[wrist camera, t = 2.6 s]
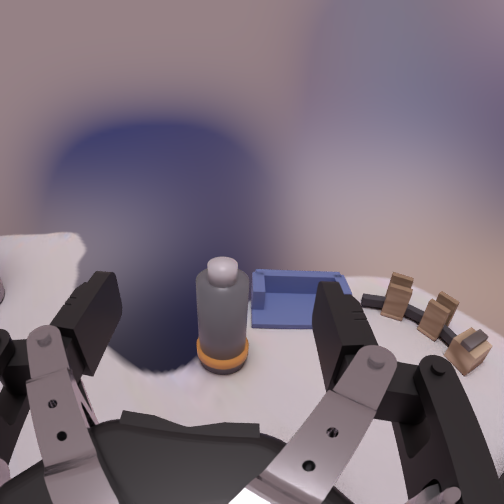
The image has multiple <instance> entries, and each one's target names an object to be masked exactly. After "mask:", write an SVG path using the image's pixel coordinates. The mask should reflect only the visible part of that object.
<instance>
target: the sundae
mask: <svg viewBox="0 0 504 504" xmlns="http://www.w3.org/2000/svg"><path fill="white" fill-rule="evenodd" d="M499 481H500V485H501V488H502V492H503V495H504V473H503V474H502V475H501V477H500V479H499Z"/></svg>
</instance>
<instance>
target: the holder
mask: <svg viewBox="0 0 504 504" xmlns="http://www.w3.org/2000/svg"><path fill="white" fill-rule="evenodd" d="M320 281H334V282H339V283H340V285H341V288H342V290H343V293H344V294H351V295H352V292H351V290H350V288H349V286H348V284H347V281H346V279H345V277H344V275H340V273H339V272H320V271H292V270H265V269H256V272H253V274H252V286H251V309H252V328H278V329H312V313H313V308H314V303H315V297H316V292H317V287H318V283H319V282H320Z"/></svg>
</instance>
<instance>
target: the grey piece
mask: <svg viewBox="0 0 504 504" xmlns="http://www.w3.org/2000/svg"><path fill="white" fill-rule="evenodd" d="M248 292H249V278H248V276H247V275H246V274H245V273H244V272H243V271H241V270H239V269H238V263H237V262H236V261H235V260H234V259H232V258H228V257H216V258H213V259H211V260H210V261H209V262H208V269H205V270H203V271H202V272H200V273H199V274H198V276H197V278H196V293H197V310H198V327H199V338H198V340H197V353H198V357H199V359H200V360H201V362H202V364H203V366H204V367H205V368H206V369H207V370H209V371H210V372H213V373H216V374H230V373H233V372H236V371H237V370H239V369H240V368H241V367H242V365H243V364H244V361H245V360H246V358H247V355H248V346H249V344H248V340H247V338H246V327H247V310H248Z"/></svg>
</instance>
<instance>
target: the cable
mask: <svg viewBox="0 0 504 504" xmlns="http://www.w3.org/2000/svg"><path fill="white" fill-rule="evenodd" d="M385 299H386V297H384V296H377V295H370V294H363V296H362V299H361V303H362V305H364V306H371V307H379V308H383V305H384V302H385ZM404 315H405V316H407V317H410V318H412V319H414V320H416V321H418V322H421V319H422V317H423V315H424V311H422V310H420V309H418V308H416V307H414V306H412V305H409V304H408V306H407V308H406V311H405V313H404ZM439 336H440V337H441V338H442V339H443V340H444V341H446V342H447V343H448V344H449V345H450V344H451V342H452V340H453V338H454V337H456V336H457V335H456V334H455V333H454V332H453V331H452V330H451V329H450V328H448V327H447V326H446V325H444V327H443V329H442V331H441V333H440V335H439Z"/></svg>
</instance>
